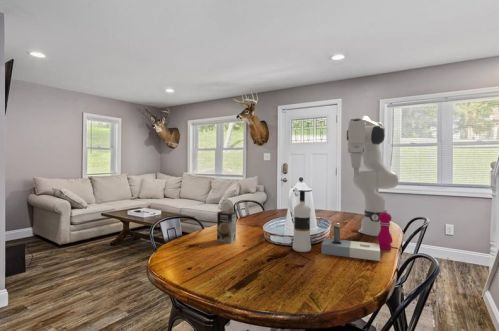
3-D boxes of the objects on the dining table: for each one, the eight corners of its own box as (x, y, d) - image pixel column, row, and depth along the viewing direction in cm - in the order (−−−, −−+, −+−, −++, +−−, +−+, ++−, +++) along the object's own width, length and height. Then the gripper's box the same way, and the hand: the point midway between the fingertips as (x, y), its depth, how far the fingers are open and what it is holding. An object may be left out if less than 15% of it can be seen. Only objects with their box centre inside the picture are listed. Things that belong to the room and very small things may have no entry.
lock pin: (333, 250, 144) (333, 222, 144) (340, 251, 143) (340, 223, 142) (332, 252, 141) (332, 223, 140) (339, 253, 139) (340, 224, 139)
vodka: (291, 247, 149) (291, 189, 148) (308, 246, 149) (309, 189, 148) (294, 252, 139) (295, 191, 139) (313, 252, 140) (313, 191, 139)
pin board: (324, 246, 150) (324, 238, 150) (379, 253, 140) (379, 243, 140) (321, 253, 139) (321, 244, 138) (380, 261, 129) (380, 251, 129)
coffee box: (216, 241, 158) (216, 212, 158) (222, 238, 164) (222, 210, 164) (231, 243, 154) (231, 213, 154) (236, 240, 160) (236, 211, 160)
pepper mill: (394, 250, 144) (394, 211, 143) (378, 249, 145) (379, 210, 145) (390, 246, 151) (390, 208, 150) (375, 245, 152) (376, 208, 152)
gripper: (351, 150, 158) (350, 175, 158) (349, 148, 139) (348, 177, 139) (363, 150, 155) (363, 175, 155) (363, 148, 136) (362, 177, 136)
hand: (356, 176), depth 147 cm, fingers open, 8 cm apart
